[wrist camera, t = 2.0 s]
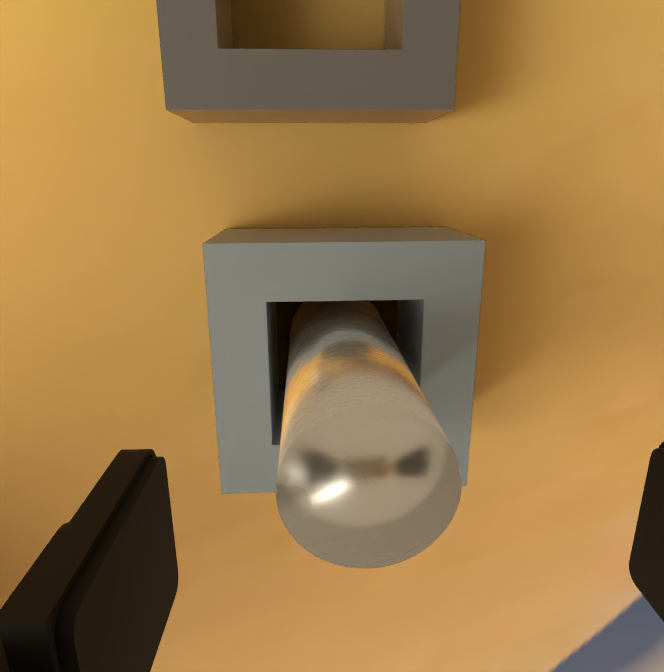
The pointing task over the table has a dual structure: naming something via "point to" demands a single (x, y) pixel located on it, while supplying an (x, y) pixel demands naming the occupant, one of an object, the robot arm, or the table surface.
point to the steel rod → (359, 443)
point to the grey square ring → (309, 69)
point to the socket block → (336, 285)
